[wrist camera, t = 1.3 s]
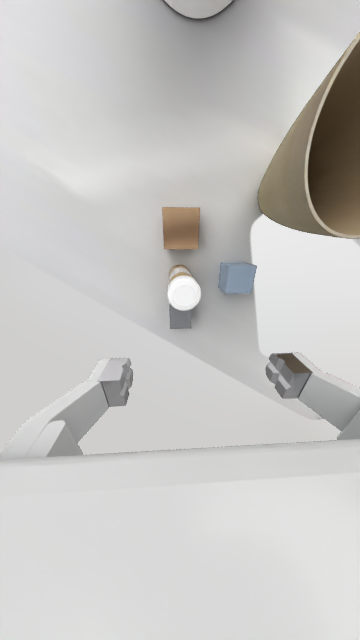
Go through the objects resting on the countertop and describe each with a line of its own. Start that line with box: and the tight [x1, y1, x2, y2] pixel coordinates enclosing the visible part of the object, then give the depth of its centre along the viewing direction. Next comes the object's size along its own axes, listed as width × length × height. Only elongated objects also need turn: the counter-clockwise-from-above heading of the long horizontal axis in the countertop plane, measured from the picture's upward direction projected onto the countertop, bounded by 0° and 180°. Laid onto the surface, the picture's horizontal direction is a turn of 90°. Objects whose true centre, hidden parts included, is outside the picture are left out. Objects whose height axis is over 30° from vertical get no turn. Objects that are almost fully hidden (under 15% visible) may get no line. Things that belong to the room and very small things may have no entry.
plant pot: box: [258, 32, 360, 239], centre depth 19 cm, size 15×15×16 cm
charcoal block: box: [170, 304, 192, 329], centre depth 34 cm, size 4×4×4 cm
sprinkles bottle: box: [167, 265, 201, 311], centre depth 26 cm, size 5×5×14 cm
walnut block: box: [162, 207, 200, 249], centre depth 26 cm, size 6×6×6 cm
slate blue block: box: [218, 263, 257, 294], centre depth 30 cm, size 5×5×5 cm
